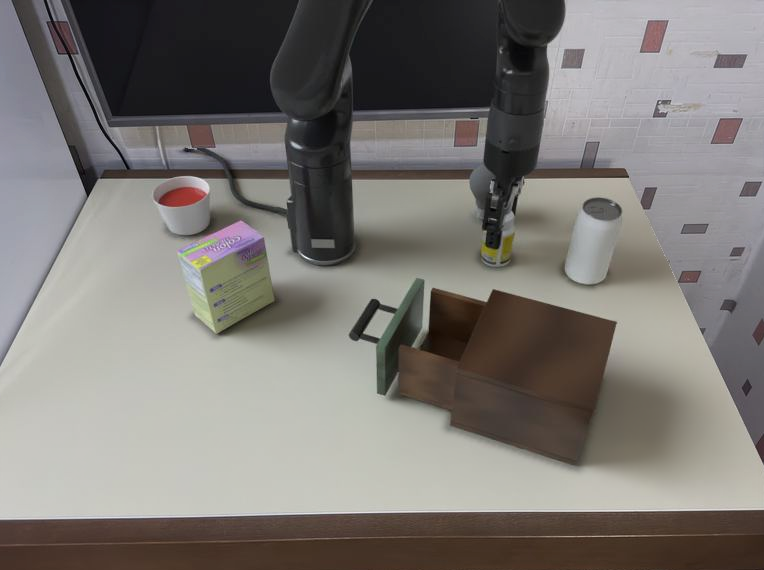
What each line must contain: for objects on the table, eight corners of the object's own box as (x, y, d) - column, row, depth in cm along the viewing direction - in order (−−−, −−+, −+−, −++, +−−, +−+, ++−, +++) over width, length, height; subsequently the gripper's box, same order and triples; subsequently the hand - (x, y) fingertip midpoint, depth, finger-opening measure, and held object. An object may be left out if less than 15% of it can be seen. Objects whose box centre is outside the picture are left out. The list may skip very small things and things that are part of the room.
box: (252, 283, 103) (240, 218, 94) (275, 301, 100) (265, 236, 91) (193, 315, 97) (175, 250, 89) (216, 335, 95) (199, 270, 86)
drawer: (339, 381, 88) (335, 333, 81) (380, 315, 97) (379, 267, 90) (485, 428, 83) (493, 380, 77) (514, 354, 92) (523, 306, 85)
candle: (200, 244, 109) (192, 211, 104) (151, 234, 111) (141, 201, 106) (226, 213, 115) (219, 181, 110) (178, 204, 117) (170, 172, 112)
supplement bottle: (508, 249, 109) (515, 205, 103) (512, 267, 106) (519, 223, 100) (478, 249, 109) (483, 205, 103) (481, 267, 106) (487, 223, 100)
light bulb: (463, 208, 117) (468, 156, 110) (496, 206, 118) (504, 155, 110) (469, 228, 113) (474, 176, 106) (504, 227, 114) (512, 174, 106)
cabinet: (449, 425, 84) (456, 367, 77) (484, 347, 94) (492, 288, 86) (574, 465, 81) (594, 409, 73) (597, 379, 90) (617, 321, 82)
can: (605, 289, 103) (625, 224, 94) (563, 283, 104) (579, 218, 95) (605, 262, 107) (624, 198, 99) (564, 257, 108) (580, 193, 99)
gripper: (501, 106, 98) (490, 201, 109) (471, 153, 88) (462, 252, 100) (552, 116, 96) (535, 212, 107) (527, 165, 86) (511, 264, 98)
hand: (500, 231), depth 104 cm, fingers open, 8 cm apart
